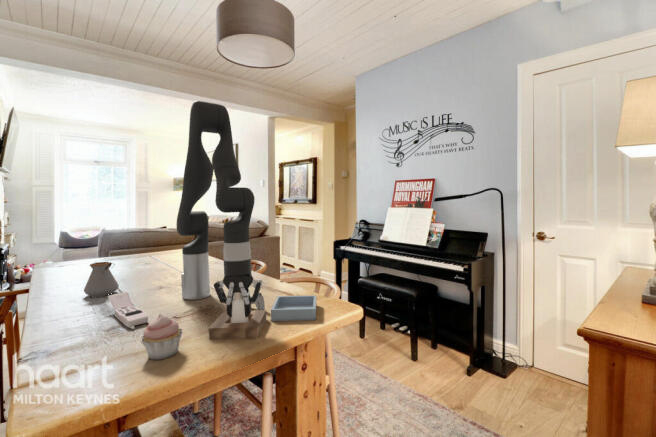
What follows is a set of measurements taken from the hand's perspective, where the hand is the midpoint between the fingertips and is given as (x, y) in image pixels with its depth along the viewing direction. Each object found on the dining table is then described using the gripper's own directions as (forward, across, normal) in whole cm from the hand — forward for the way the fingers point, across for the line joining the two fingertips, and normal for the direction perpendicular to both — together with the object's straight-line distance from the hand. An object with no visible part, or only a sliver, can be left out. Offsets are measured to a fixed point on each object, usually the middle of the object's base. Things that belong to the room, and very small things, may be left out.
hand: (239, 315), depth 90 cm
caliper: (+4, -4, +20) cm, 21 cm away
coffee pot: (+4, -62, +34) cm, 71 cm away
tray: (+4, +15, +12) cm, 20 cm away
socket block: (+4, 0, 0) cm, 4 cm away
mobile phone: (+4, -39, +11) cm, 40 cm away
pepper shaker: (+4, 0, 0) cm, 4 cm away
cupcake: (+4, -15, -14) cm, 21 cm away
